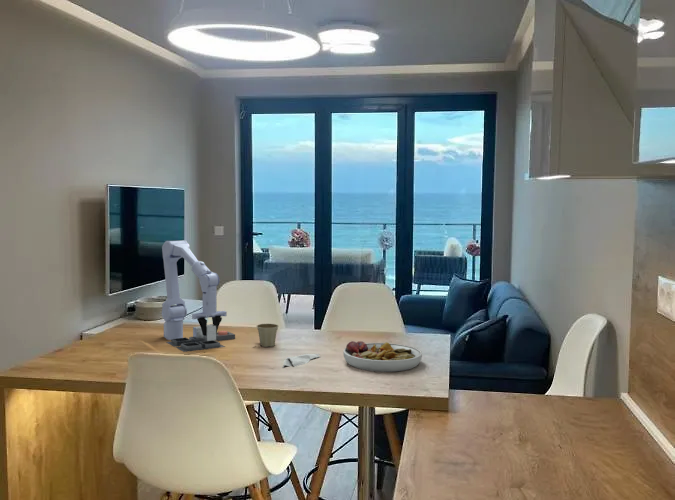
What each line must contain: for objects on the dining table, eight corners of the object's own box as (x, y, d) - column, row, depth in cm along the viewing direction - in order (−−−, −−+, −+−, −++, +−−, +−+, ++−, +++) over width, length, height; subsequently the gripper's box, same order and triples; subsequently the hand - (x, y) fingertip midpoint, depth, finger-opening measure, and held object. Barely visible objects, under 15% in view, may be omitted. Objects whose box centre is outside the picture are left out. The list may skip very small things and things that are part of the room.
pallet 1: (165, 344, 268) (165, 338, 268) (205, 339, 278) (205, 334, 278) (174, 349, 260) (174, 343, 260) (214, 344, 270) (214, 338, 270)
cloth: (310, 353, 258) (310, 348, 258) (335, 359, 249) (335, 353, 249) (262, 364, 239) (262, 358, 239) (287, 371, 230) (287, 365, 230)
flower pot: (277, 348, 264) (277, 327, 264) (254, 347, 264) (254, 327, 264) (279, 343, 274) (279, 323, 273) (258, 343, 274) (258, 323, 273)
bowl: (426, 358, 252) (426, 338, 251) (415, 377, 223) (416, 355, 222) (353, 352, 260) (354, 333, 259) (334, 370, 231) (334, 349, 230)
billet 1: (193, 340, 272) (193, 326, 271) (201, 339, 274) (201, 326, 274) (196, 342, 269) (196, 328, 268) (205, 341, 271) (205, 327, 270)
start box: (210, 339, 279) (210, 333, 279) (227, 337, 283) (227, 331, 283) (218, 343, 272) (218, 336, 272) (235, 341, 277) (235, 334, 277)
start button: (216, 336, 278) (216, 331, 278) (225, 335, 280) (225, 330, 280) (220, 338, 275) (220, 332, 275) (228, 337, 277) (228, 331, 277)
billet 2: (203, 339, 263) (203, 325, 262) (212, 338, 265) (212, 324, 265) (207, 341, 259) (207, 326, 259) (216, 339, 262) (216, 325, 261)
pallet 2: (175, 349, 259) (175, 343, 259) (215, 344, 269) (215, 338, 269) (184, 354, 251) (184, 348, 251) (225, 349, 261) (225, 343, 261)
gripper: (196, 304, 254) (196, 338, 255) (229, 302, 262) (229, 334, 263) (190, 302, 260) (190, 335, 260) (222, 300, 268) (222, 331, 269)
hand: (209, 334), depth 262 cm, fingers closed on billet 2, 4 cm apart
